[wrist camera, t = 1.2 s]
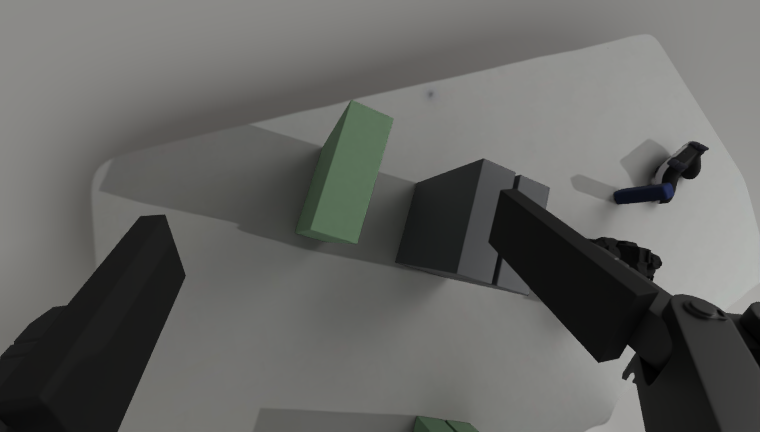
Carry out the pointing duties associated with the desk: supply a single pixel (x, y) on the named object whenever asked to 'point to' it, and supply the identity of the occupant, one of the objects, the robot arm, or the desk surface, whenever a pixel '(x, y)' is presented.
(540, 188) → the grey book
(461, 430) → the green book
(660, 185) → the blue rectangular bar
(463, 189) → the grey book
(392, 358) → the desk surface
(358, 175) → the sage book
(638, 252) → the film camera
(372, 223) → the desk surface
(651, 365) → the robot arm
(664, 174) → the gaming controller
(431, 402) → the desk surface
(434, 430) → the green book
